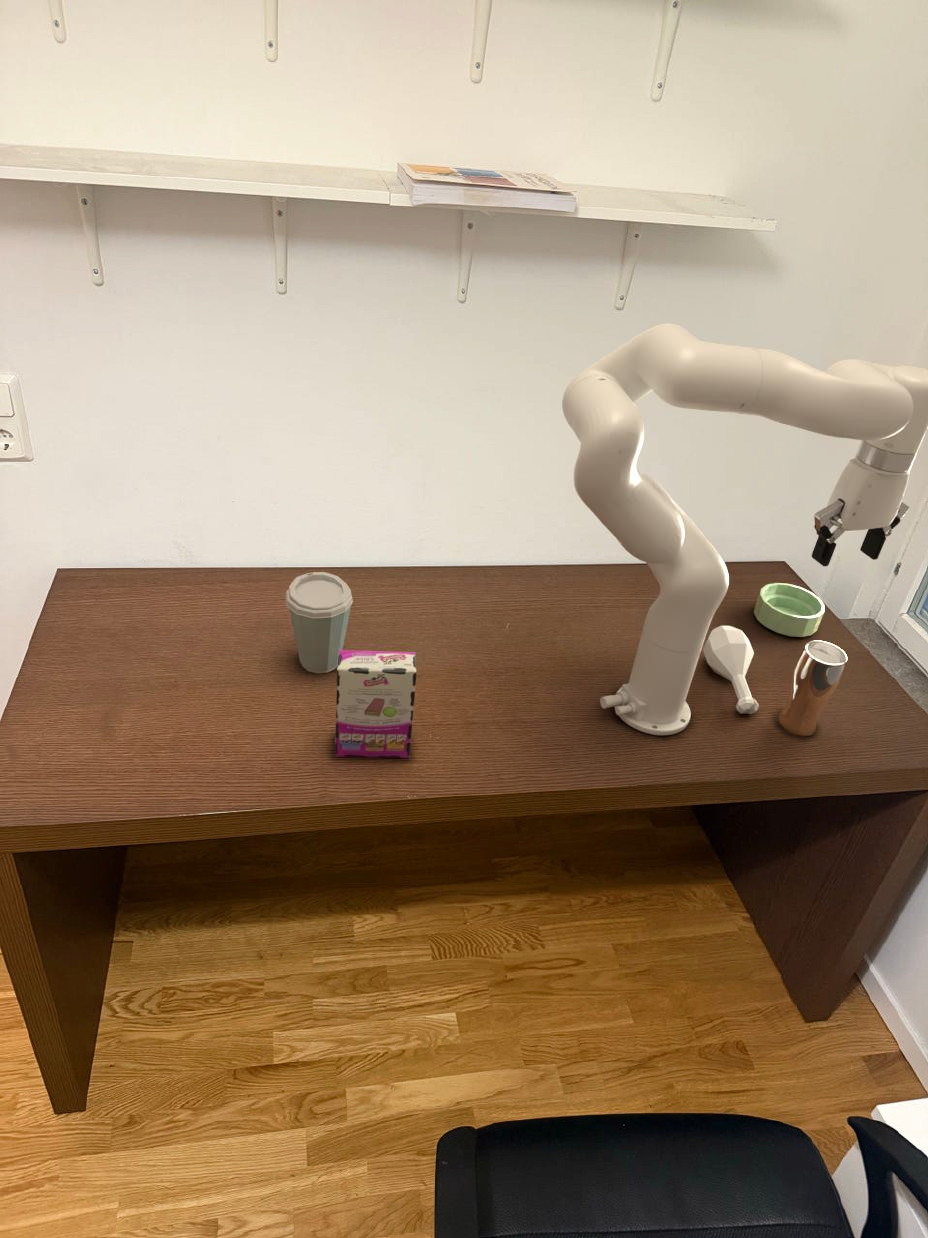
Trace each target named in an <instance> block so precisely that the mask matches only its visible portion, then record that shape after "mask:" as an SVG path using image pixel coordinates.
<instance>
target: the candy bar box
mask: <svg viewBox="0 0 928 1238" xmlns="http://www.w3.org/2000/svg"><path fill="white" fill-rule="evenodd" d="M416 683H417V660H416V652H415V651H388V650H387V651H386V650H385V651H384V650H357V649H355V650H353V649H343V650H339V655H338V664H337V667H336V700H335V701H336V703H335V739H334V741H335V743H334V756H335V757H337V758H385V759H386V758H392V759H393V758H394V759H395V758H397V759H409V758H410V753H411V745H412V744H411V743H412V733H413V732H412V731H413V720H414V707H415V697H416Z"/></svg>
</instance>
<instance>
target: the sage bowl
mask: <svg viewBox="0 0 928 1238" xmlns="http://www.w3.org/2000/svg"><path fill="white" fill-rule="evenodd" d="M825 608H826V607H825V604H824V602H823V601H822V600H821V597H818V596H817V595H816V594H815V593H813V592H812V591H810V590H807V589H805V588H803V587H801V586H798V585H794V584H791V583H784V582H773V583H767V584H766V585H764V586H763V587H761V588H760V590H759V594H758V597H757V599H756V602H755V605H754V609H753V614H754V616H755V618H756V620H757V621H758V622H759V623H760V624H761V625H763V626H764V627H765V628H767V629H769V630H771V631H773V632H775V633H776V634H780V635H784V636H787V637H795V638H796V637H797V638H805V637H808V636H812V635H813V634H814V633H816V632H817V631H818V630H819V627H820V624H821V621H822V619H823V616H824V614H825Z"/></svg>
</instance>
